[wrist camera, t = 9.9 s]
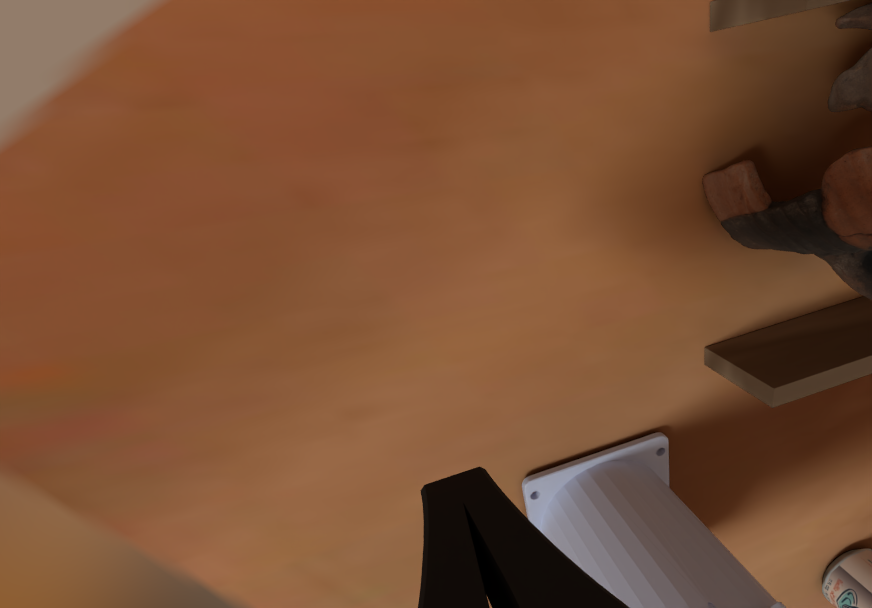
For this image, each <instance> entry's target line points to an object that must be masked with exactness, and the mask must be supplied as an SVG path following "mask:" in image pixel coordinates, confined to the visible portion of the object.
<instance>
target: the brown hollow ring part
mask: <svg viewBox="0 0 872 608" xmlns="http://www.w3.org/2000/svg"><path fill="white" fill-rule="evenodd" d="M835 25H836V27H838V28H840V29H843V28H863V29H869V30H872V3H870V4H868V5H865V6H862V7H859V8H857V9H855V10H853V11H851V12H849V13H847V14H845V15H843V16H842V17H840V18H838V19H837V21H836V23H835ZM858 107H863V108H864V109H866V110H868V111H872V48H870V49H869V50H868V51H867V52H866V53H865V54H864V55H863V56H862V57H861V58H860V59H859V61H858V62H857V63H856V64H855V65H854V66H853V67H851V68H850V69H848V70H846V71H844V72H843V73H841V74H840V75H839V76H838V77H837V79H836V80H835V82H834V83H833V86H832V89H831V93H830V96H829V99H828V108H829V110H830V111H831V112H840V111H846V110H851V109H855V108H858ZM703 185H704V189H705V194H706V197H707V199H708V201H709V203H710V206H711V208H712V210H713V211H714V213H715V214H716V217H717V218H718V219H719V220H720V222H721V225H722V226H723V227H724V228H725V230H726V231H727V232H728V233H729V234H730V235H731V237H732V238H733V239H734V240H736V241H738V242H739V243H741V244H742V245H743V246H746V247H748V248H752V249H773V250H780V251H790V252H797V253H801V254H815V255H816V256H818V257H820V258H822V259H823V260H825V261H826V262H827V263H828V264H829V265H830V266H831V267H832V269H833V270H834V271H835V272H836V273H837V274H838V275H839V277H840V278H841V279H842V280H843V281H844V282H845V283H847V284H848V285H849V286H850V287H851V288H853V289H854V290H855V291H857V292H858V293H860V294H861V295H863V296H865V297H867V298H869V299H870V300H872V146H869V147H865V148H858V149H854V150H852V151H849V152H847V153H846V154H845V155H844V156H843V157H842V158H840V159H838V160H836V161H835V162H834V163H832V164H831V165H830V166H829V167H828V168H827V170H826V171H825V173H824V177H823V180H822V188H821V189H817V190H813V191H810V192H808V193H806V194H804V195H802V196H799V197H796V198H794V199H792V200H790V201H781V202H773V201H772V199H771V198H770V196H769V194H768V193H767V192H766V191H765V189H764V186H763V184H762V183H761V180H760V177H759V175H758V173H757V170H756V167H755V164H754V163H753V162H752V161H750V160H744V161H741V162H738V163H736V164H733V165H731V166H729V167H728V168H726V169H723V170H718V171H715V172H712V173H708V174H706V175H704V176H703Z"/></svg>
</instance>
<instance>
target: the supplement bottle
mask: <svg viewBox="0 0 872 608" xmlns="http://www.w3.org/2000/svg"><path fill="white" fill-rule="evenodd" d="M822 592H823V594H824V596H825V598H826V599H827V600H828V601H830V602H831V603H832V604H833V605H834V606H835V607H836V608H872V549H869V548H866V549H859V550H858V549H857V550H851V551H848V552H846V553H844V554H842V555H841V556H839V557H838V558H836V559H835V560H834V561H833V562H832V563H831V564H830V565H829V567H828V568H827V570H826V571H825V574H824V577H823V584H822Z"/></svg>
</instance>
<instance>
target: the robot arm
mask: <svg viewBox="0 0 872 608" xmlns="http://www.w3.org/2000/svg"><path fill="white" fill-rule="evenodd" d="M522 489H523V495H524V500H525V506H526V511H527V517H528V519H527V518H526V517H525V516H524V515H523V514H522V513H521V511H520V510H519V509H518V508H517V507H516V506H515V505H514V504H513V503H512V502H511V501H510V499H509V498H508V497H507V496H506V495H505V494H504V493H503V492H502V490H501V489H500V488H499V487H498V486H497V484H496V483H495V482H494V481H493V479H492V478H491V477H490V475H489V474H488V473H487V471H486V470H485V469H484V468H481V467H477V468H474V469H471V470H468V471H465V472H462V473H459V474H456V475H453V476H450V477H447V478H444V479H441V480H438V481H435V482H432V483H429V484H426V485H424V487H423V488H422V490H421V496H422V502H423V514H424V546H423V562H422V577H421V588H420V596H419V604H418V608H489V604H488V599H489V601H490V604H491V606H492V608H786V607H785V606H784V605H783V604H782V603H781V602H777V601H776V600H775V599H774V598H773V597H772V596H771V595H770V594H769V593H768V592H767V591H766V590H765V589H764V588H763V586H762V585H761V584H760V583H759V582H758V581H757V580H756V579H755V578H754V577H753V576H752V575H751V574H750V573H749V572H748V571H747V569H746V568H745V567H744V566H743V565H742V564H741V563H740V562H739V561H738V560H737V559H736V558H735V557H734V556H733V555H732V554H731V553H730V551H729V550H728V549H727V548H726V547H725V546H724V545H723V544H722V543H721V542H720V541H719V540H718V539H717V538H716V537H715V536H714V535H713V533H712V532H711V531H710V530H709V529H708V528H707V527H706V526H705V525H704V524H703V523H702V522H701V521H700V520H699V519H698V518H697V516H696V515H695V514H694V513H693V512H692V511H691V510H690V509H689V508H688V507H687V506H686V505H685V504H684V503H683V502H682V501H681V500H680V498H679V497H678V496H677V495H676V494H675V493H674V492H673V491H672V490H671V489H670V488H669V441H668V438H667V437H666V436H665V435H664V434H663V433H661V432H657V433H653V434H651V435H648V436H645V437H642V438H639V439H636V440H633V441H630V442H627V443H624V444H621V445H618V446H615V447H612V448H610V449H607V450H604V451H601V452H598V453H595V454H592V455H589V456H586V457H583V458H580V459H577V460H574V461H571V462H569V463H566V464H563V465H560V466H557V467H554V468H551V469H548V470H545V471H542V472H539V473H536V474H533V475H530V476H528V477H526V478H525V479H524V481H523V483H522ZM535 491H536V492H535ZM533 492H535V493H533ZM532 493H533V494H532ZM486 594H487V595H486ZM487 597H488V599H487Z"/></svg>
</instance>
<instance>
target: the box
mask: <svg viewBox="0 0 872 608" xmlns="http://www.w3.org/2000/svg"><path fill="white" fill-rule="evenodd" d="M845 1H849V0H715V1H712V2H710V32H712V31H717V30H721V29H726V28H730V27H734V26H739V25H743V24H748V23H752V22H757V21H761V20H766V19H770V18H775V17H779V16H784V15H788V14H792V13H797V12H801V11H806V10H810V9H814V8H819V7H823V6H827V5H832V4H836V3H840V2H845ZM705 365H706V366H708V367H709V368H711V369H712V370H714V371H715V372H717V373H719V374H720V375H722V376H723V377H725V378H726V379H728V380H729V381H731V382H733V383H734V384H736V385H737V386H739V387H740V388H742V389H744V390H745V391H747V392H748V393H750V394H751V395H753V396H754V397H756V398H758V399H759V400H761V401H762V402H764V403H765V404H767V405H768V406H770V407H772V408H774V407H777V406H780V405H782V404H785V403H788V402H791V401H794V400H797V399H800V398H803V397H806V396H808V395H811V394H814V393H817V392H820V391H823V390H826V389H829V388H832V387H835V386H837V385H840V384H843V383H846V382H849V381H852V380H855V379H858V378H861V377H863V376H866V375H869V374H872V300H870V299H869V298H867V297H865V296H863V297H860V298H857V299H854V300H851V301H848V302H845V303H842V304H839V305H835V306H832V307H829V308H826V309H823V310H820V311H817V312H814V313H811V314H807V315H804V316H801V317H798V318H795V319H792V320H789V321H786V322H783V323H779V324H776V325H773V326H770V327H767V328H764V329H761V330H758V331H755V332H752V333H748V334H745V335H742V336H739V337H736V338H733V339H730V340H727V341H724V342H720V343H717V344H714V345H711V346H708V347H705Z"/></svg>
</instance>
